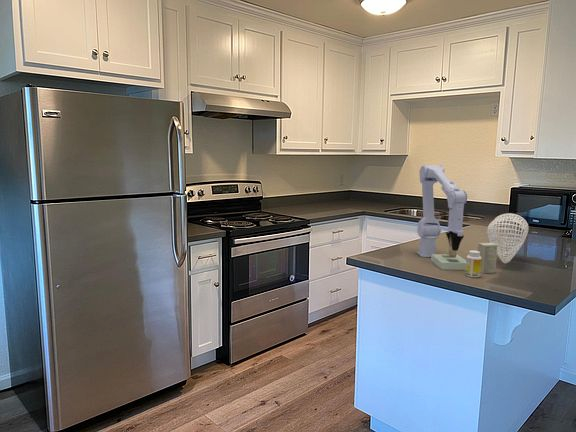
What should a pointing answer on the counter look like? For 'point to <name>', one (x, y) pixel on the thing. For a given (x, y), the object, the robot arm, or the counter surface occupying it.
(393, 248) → the counter surface
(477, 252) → the supplement bottle
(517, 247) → the heart
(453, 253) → the dowel
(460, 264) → the board
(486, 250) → the skincare box
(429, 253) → the robot arm
